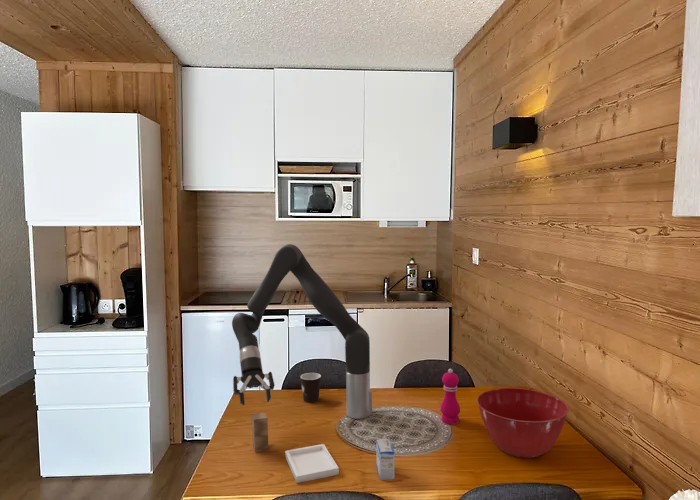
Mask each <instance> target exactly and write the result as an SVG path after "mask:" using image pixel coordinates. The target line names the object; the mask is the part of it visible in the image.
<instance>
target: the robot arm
mask: <svg viewBox="0 0 700 500" xmlns="http://www.w3.org/2000/svg"><path fill="white" fill-rule="evenodd" d="M289 273H291V274H292V275H294V276H295V278H296V280H297V281H298V282H299V284H300V286H301V287H302V290H303V291H304V294H305V296H306V298H307V300H308V301H309V302H310V303H311V305H312V306H313V308H315V310H316V311H317V313H318V314H320V315H321V316H322V317H323V318H325V319H326V320H327V321H328V322H330V323H331V324H332V325H333V326H335V328H336V329H337V330H338V332H339V333H340V335H341V336H342V337H343V339H344V340H345V344H344V345H345V346H344V353H345V355H344V356H345V382H346V383H345V386H346V387H345V388H346V393H345V394H346V395H345V396H346V397H345V398H346V408H345V409H346V416H348V417H349V418H352V419H357V420H359V419H366V418H369V416H373V391H372V390H371V369H370V368H371V360H370V358H371V352H370V351H371V350H370V349H371V348H370V346H371V344H370V343H371V342H370V335H369V333H368V331H366V330H365V328H363V327H362V326H361V325H360V324H359V323H358V322H357V321H356V320H355V319H354V318H353V317H352V316H351V314H350V312H349V311H347V308H346V307H345V306H344V305H343V303H342V302H341V300H340V299H339V298H338V296H337V295H336V294H335V292H334V291H333V290H332V289H331V287H330V286H329V285H328V284H327V283H326V282H325V281H324V280H323V279H322V278H321V276H320V275H319V274H318V273H317V272H316V271H315V270H314V269H313V267H312V266H311V264H310V263H309V262H308V260H307V258H306V257H305V255H304V254H303V252H302V251H301V249H300V248H299V246H296V245H294V244H291V243H289V244H285V245H282V246H281V247H279V248H278V249H277V250H276V251H275V254H274V257H273V259H272V261H271V265H270V267H269V269H268V271H267V272H266V275H265V276H264V277H263V280H261V282H260V284H259V285H258V286H257V288H256V289H255V291H254V293H253V294H252V296H251V298H250V299H249V301H248V303H247V306H246V307H247V309H248V310H249V311H250V312H251V313H252V314H248V313H245V312H238V313H236V314H235V315H233V318H232V320H231V321H232V322H231V326H232V330H233V333H234V336H235V338H236V341H237V342H238V348H239V364H240V371H241V376H237V375H234V376H233V379H232V385H233V388H232V389H233V395H234V396H235V395H237V396H238V397H239V403H240V405H242V406H245V402H246V401H245V395H244V393H245V391H246V390H247V389H248V388H249V389H252V388H258V387H260V388H261V389H262V390H263V391H265V399H266V403H269V402H270V401H271V397H272V396H271V391H273V390H274V389H275V381H274V377H273V373H272V372H271V371H269V372H268V373H264V371H263V365H262V358H261V353H260V348H259V342H258V341H259V340H258V337H257V336H256V335H255V334H254V333H256V332H257V331H258V330H259V328H260V325H261V322H262V319H263V317H264V312H265V311H266V309H267V308H268V306H269V305H270V303H271V302H272V300H273V299H274V296H275V294H276V292H277V290H278V288H279V286H280V284H281V283H282V281H284V278H285V277H286V276H287V275H288V274H289ZM265 378H266V380H267V381H268V383H269V384H267V383H266V381H265V380H264V379H265ZM240 381H241V383H242V385H241V388H240V389H238V384H239V383H240Z"/></svg>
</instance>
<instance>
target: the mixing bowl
mask: <svg viewBox="0 0 700 500" xmlns="http://www.w3.org/2000/svg"><path fill="white" fill-rule="evenodd" d="M476 404H477V405H478V409H479V412H480V416H481V419H482V422H483V425H484V426H485V429H486V431H487V434H488V435H489V437H490V438H491V441H492V442H493V444H494V445H496V446H497V447H498V448H500V450H502V451H504V453H507V454H508V455H511V456H514V457H517V458H523V459H525V458H526V459H528V458H529V459H531V458H532V459H533V458H537V457H541V455H542V456H543V455H545V454H546V453H547V452H549V451H550V450H552V448H553V447H554V446H555V444H556V441H557V440H558V438H559V436H560V435H561V432H562V430H563V427H564V425H565V422H566V420H567V415H568V414H569V412H570V407H569V406H568V404H567V403H566V402H565V401H564V400H561V399H560V398H558V397H556V396H554V395H552V394H548V393H546V392H542V391H538V390H533V389H528V388H519V387H518V388H517V387H502V388H494V389H489V390H486V391H484V392H482V393H480V394H479V395H477V398H476Z"/></svg>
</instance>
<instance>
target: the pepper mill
mask: <svg viewBox="0 0 700 500" xmlns="http://www.w3.org/2000/svg"><path fill="white" fill-rule="evenodd" d="M453 371H454V370H453V369H452V368H449V369H448V370H447V372H445V373H443V375H442V378H441V380H442V383H443V391H444V397H443V400H442V402H441V403H440V412H441V421H442V422H443V423H444V424H447V425H456V424H458V423H459V422H460V418H459V417H460V416H459V415H460V414H461V407H460V404H459V401H458V399H457V391H458V384H459V382H460V381H459V380H460V379H459V376H458V375H457V374H456V373H455V372H453Z"/></svg>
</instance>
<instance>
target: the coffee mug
mask: <svg viewBox="0 0 700 500" xmlns="http://www.w3.org/2000/svg"><path fill="white" fill-rule="evenodd" d="M321 377H322V375H321V374H320V373H316V372H307V373H303V374H301V375H300V384H301V391H302V398H303V401H304V402H305V403H316V402H319V399H320V391H321Z"/></svg>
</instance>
